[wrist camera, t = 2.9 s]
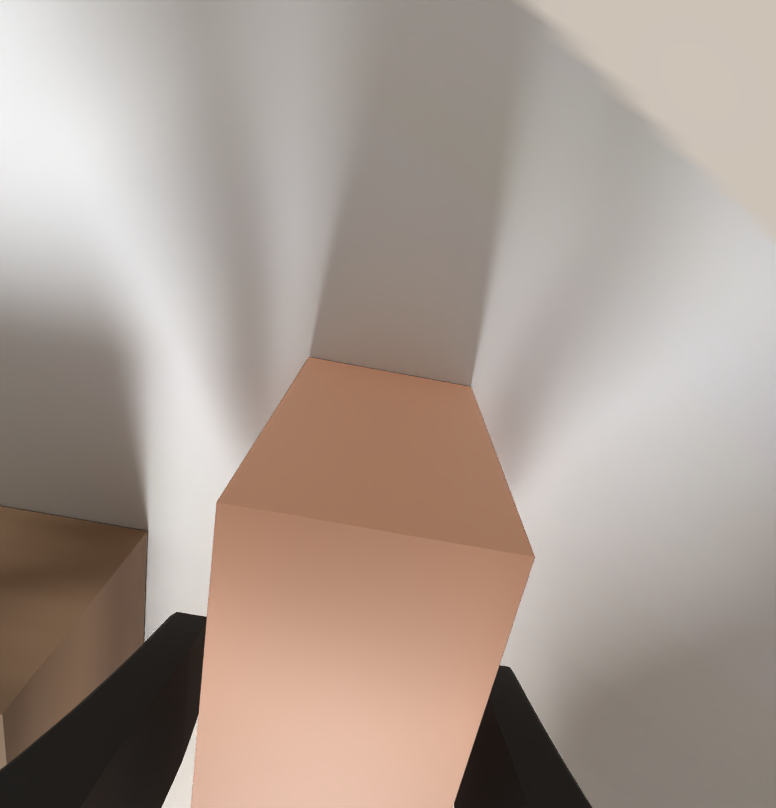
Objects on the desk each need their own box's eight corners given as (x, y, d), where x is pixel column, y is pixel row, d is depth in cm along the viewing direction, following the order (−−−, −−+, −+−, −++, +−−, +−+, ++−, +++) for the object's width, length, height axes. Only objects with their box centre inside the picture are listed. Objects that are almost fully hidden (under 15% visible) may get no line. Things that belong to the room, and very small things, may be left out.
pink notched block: (470, 386, 12) (534, 557, 6) (387, 725, 15) (376, 1037, 9) (308, 357, 11) (217, 501, 6) (261, 705, 15) (173, 1009, 9)
